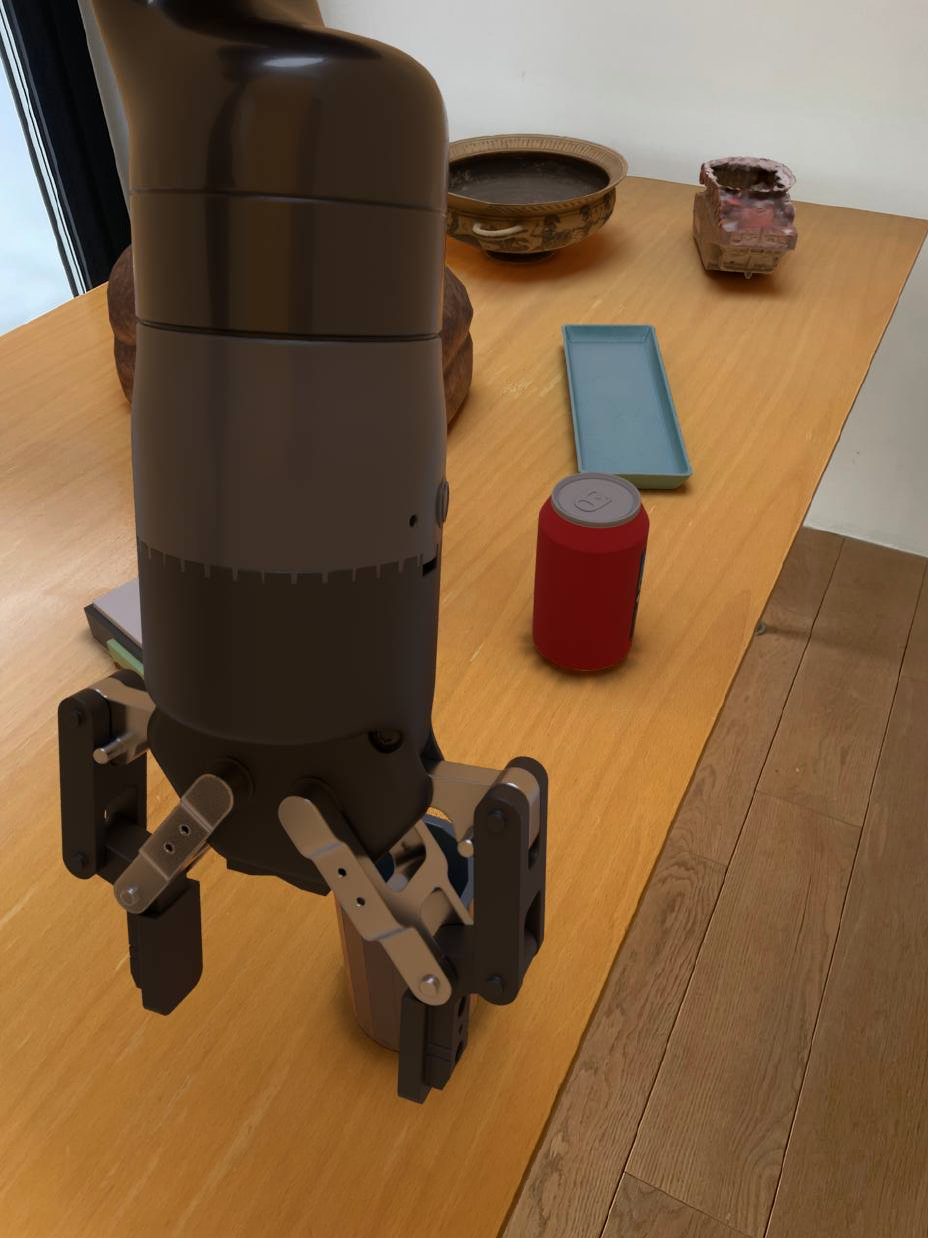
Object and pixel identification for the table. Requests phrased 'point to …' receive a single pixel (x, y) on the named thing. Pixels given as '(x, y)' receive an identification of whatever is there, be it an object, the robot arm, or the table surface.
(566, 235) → the ceramic bowl
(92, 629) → the scale
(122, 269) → the bread
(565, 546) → the beverage can
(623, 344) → the teal serving tray
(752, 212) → the decorative box
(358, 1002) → the cup
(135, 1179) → the table surface
